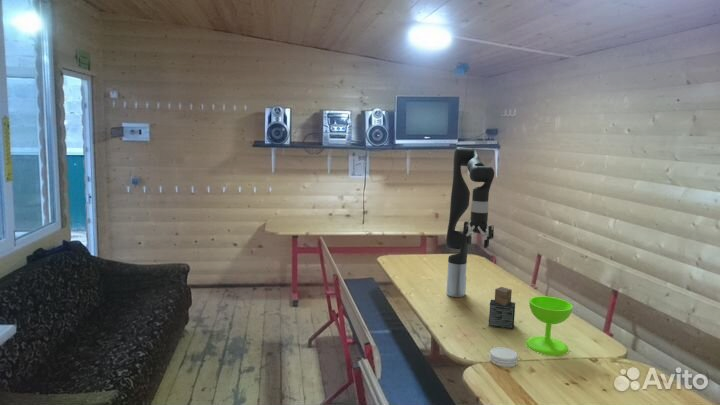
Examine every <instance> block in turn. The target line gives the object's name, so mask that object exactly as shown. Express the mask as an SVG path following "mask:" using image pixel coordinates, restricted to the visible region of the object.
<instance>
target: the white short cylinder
mask: <svg viewBox="0 0 720 405" xmlns="http://www.w3.org/2000/svg"><path fill="white" fill-rule="evenodd" d="M518 358H519V355H518V352H516V351H515V350H514V349H511V348H508V347H503V346H502V347H501V346H498V347H497V346H496V347H493V348H492V349H491V350H490V351H489V360H490V362H491V363H492V364H494V365H495V364H496V366H498V367H501V366H502V368H513V367H516V366H517V365H518V360H519V359H518Z"/></svg>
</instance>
